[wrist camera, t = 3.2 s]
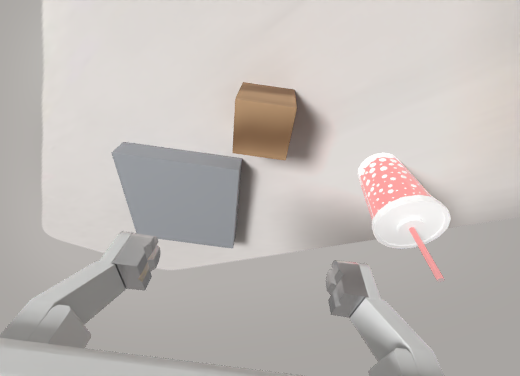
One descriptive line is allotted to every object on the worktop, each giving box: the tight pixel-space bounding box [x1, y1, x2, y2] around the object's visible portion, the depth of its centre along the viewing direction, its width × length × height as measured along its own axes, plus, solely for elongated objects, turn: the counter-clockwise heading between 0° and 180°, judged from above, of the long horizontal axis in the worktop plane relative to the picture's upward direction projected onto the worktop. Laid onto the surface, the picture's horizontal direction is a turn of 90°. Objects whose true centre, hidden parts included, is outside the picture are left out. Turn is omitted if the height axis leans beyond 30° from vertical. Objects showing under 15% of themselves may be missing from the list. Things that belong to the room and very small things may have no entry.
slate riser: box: [112, 142, 242, 248], centre depth 31 cm, size 14×14×2 cm
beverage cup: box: [358, 153, 451, 282], centre depth 22 cm, size 6×6×14 cm
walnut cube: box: [233, 82, 297, 160], centre depth 23 cm, size 5×5×5 cm
